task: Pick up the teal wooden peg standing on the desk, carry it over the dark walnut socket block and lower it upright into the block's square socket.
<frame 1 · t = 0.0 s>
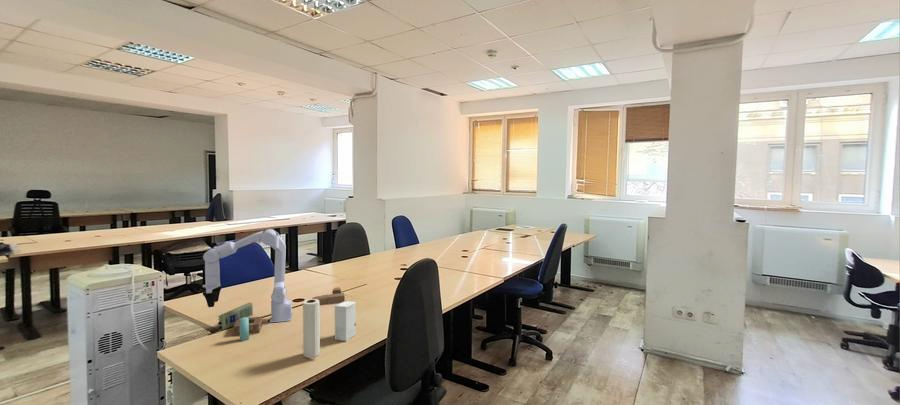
hand: (213, 304, 179), 10 cm above the table, tool pointing down, fingers open, 7 cm apart
peg: (244, 339, 165), on the table
wooden block set: (327, 301, 220), on the table
skincare box: (345, 337, 169), on the table
paper towel roll: (311, 355, 152), on the table
socket block: (248, 330, 175), on the table
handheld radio: (232, 324, 183), on the table
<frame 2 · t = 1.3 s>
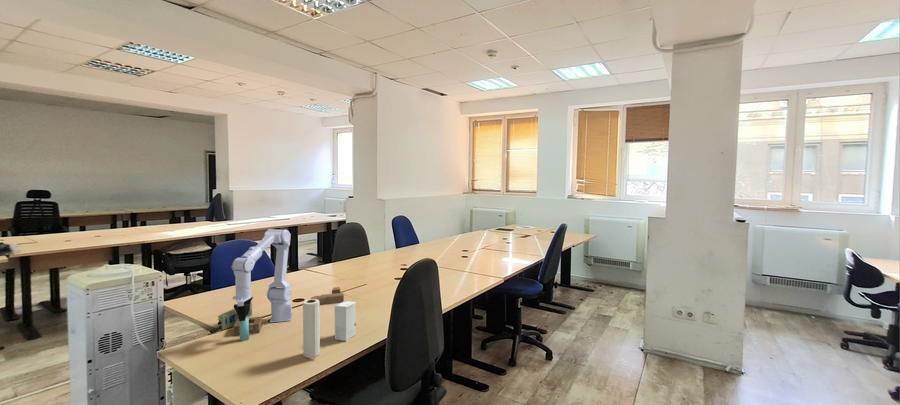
hand: (243, 317, 165), 9 cm above the table, tool pointing down, fingers open, 7 cm apart
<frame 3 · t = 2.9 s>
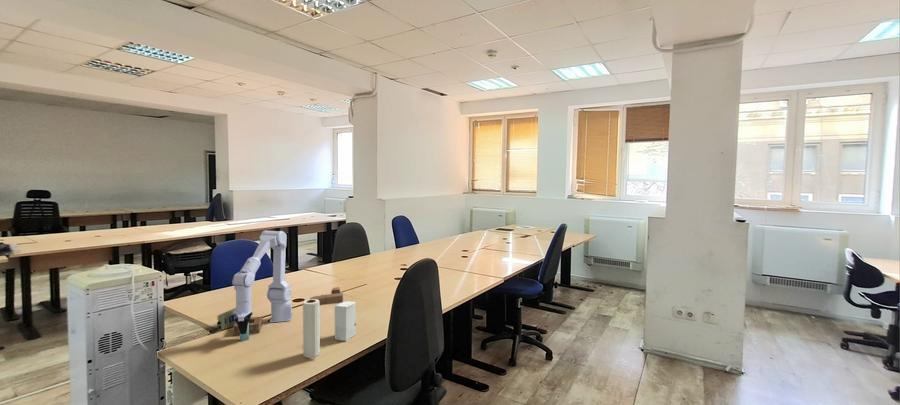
hand: (244, 331, 165), 3 cm above the table, tool pointing down, fingers closed on peg, 3 cm apart
peg: (244, 339, 165), on the table, touching gripper
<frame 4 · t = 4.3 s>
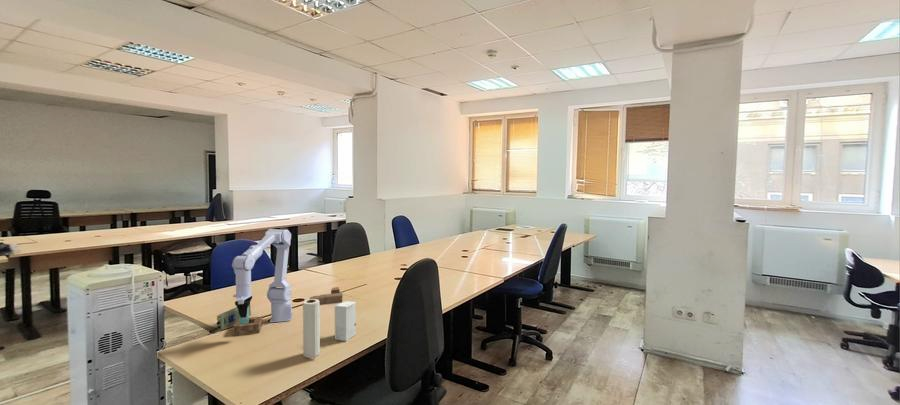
hand: (244, 315, 165), 10 cm above the table, tool pointing down, fingers closed on peg, 3 cm apart
peg: (244, 323, 165), point 7 cm above the table, touching gripper
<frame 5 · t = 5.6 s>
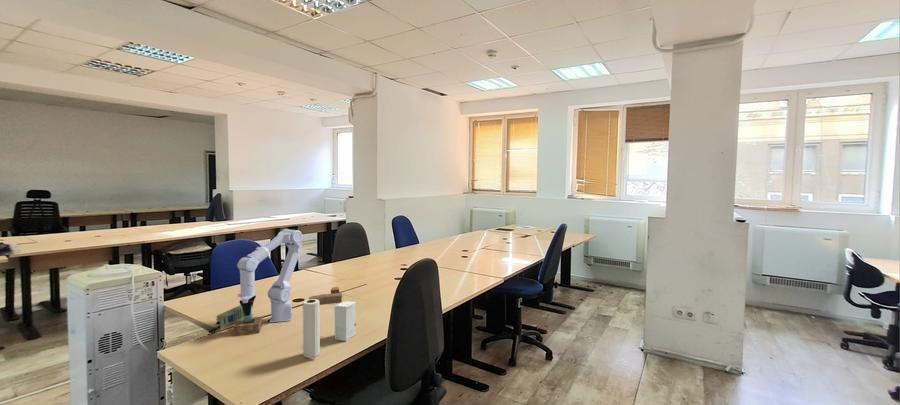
hand: (248, 314, 175), 7 cm above the table, tool pointing down, fingers closed on peg, 3 cm apart
peg: (248, 321, 175), point 4 cm above the table, touching gripper
when the fingers open (5 cm above the table, at t = 6.9 s): peg drops 2 cm, resting in socket block.
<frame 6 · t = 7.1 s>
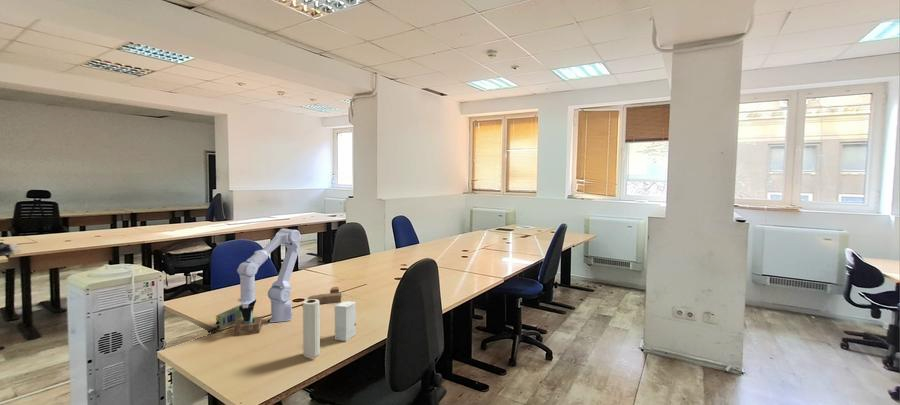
hand: (248, 318, 175), 5 cm above the table, tool pointing down, fingers open, 5 cm apart
peg: (248, 330, 175), resting in socket block
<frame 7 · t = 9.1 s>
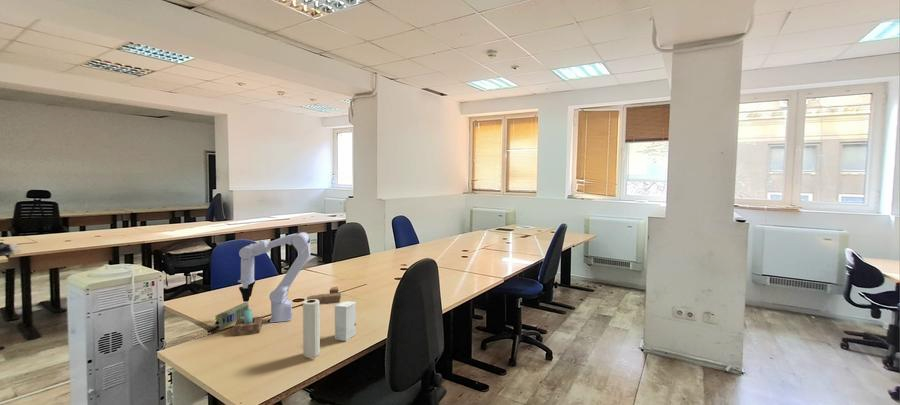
hand: (247, 299, 187), 10 cm above the table, tool pointing down, fingers open, 7 cm apart
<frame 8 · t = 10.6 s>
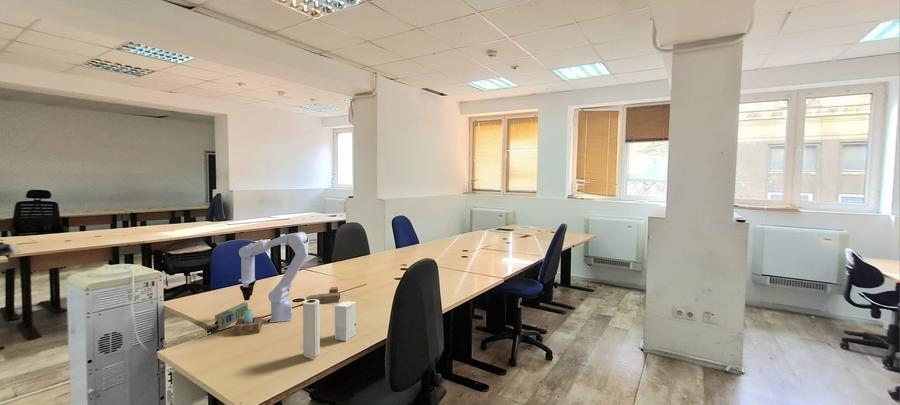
hand: (248, 297, 189), 10 cm above the table, tool pointing down, fingers open, 7 cm apart
at the end: peg 0.1 cm off-centre on the socket block, point 0.0 cm above the socket block's base; peg tilted 0°; the gripper is holding nothing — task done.
